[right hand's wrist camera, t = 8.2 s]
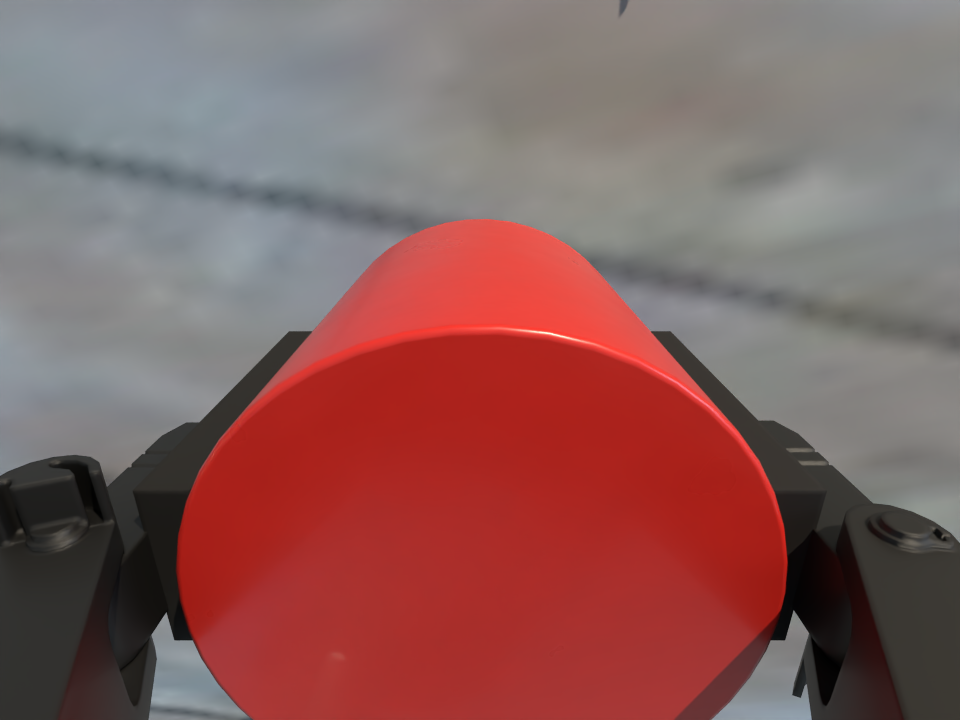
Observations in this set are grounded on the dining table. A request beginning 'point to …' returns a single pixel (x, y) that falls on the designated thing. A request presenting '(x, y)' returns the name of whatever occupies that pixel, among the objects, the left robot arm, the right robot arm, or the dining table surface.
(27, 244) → the dining table surface
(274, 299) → the dining table surface
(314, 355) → the canister
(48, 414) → the dining table surface
